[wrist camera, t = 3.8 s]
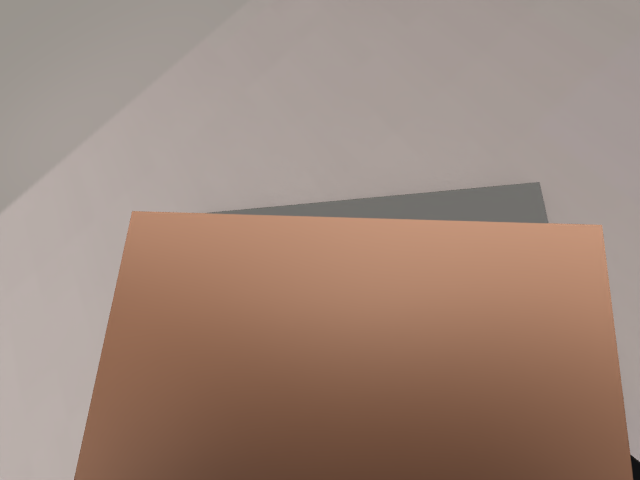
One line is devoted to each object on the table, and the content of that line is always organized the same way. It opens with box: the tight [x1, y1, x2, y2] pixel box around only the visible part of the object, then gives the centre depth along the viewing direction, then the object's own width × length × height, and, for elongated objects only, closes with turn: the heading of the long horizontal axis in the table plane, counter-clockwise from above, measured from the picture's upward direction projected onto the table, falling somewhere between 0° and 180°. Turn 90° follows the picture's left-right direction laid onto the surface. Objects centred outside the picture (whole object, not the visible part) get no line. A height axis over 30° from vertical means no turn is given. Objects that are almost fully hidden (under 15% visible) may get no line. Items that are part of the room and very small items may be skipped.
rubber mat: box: [208, 182, 548, 223], centre depth 15 cm, size 26×22×1 cm
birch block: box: [74, 211, 633, 480], centre depth 9 cm, size 5×5×14 cm
